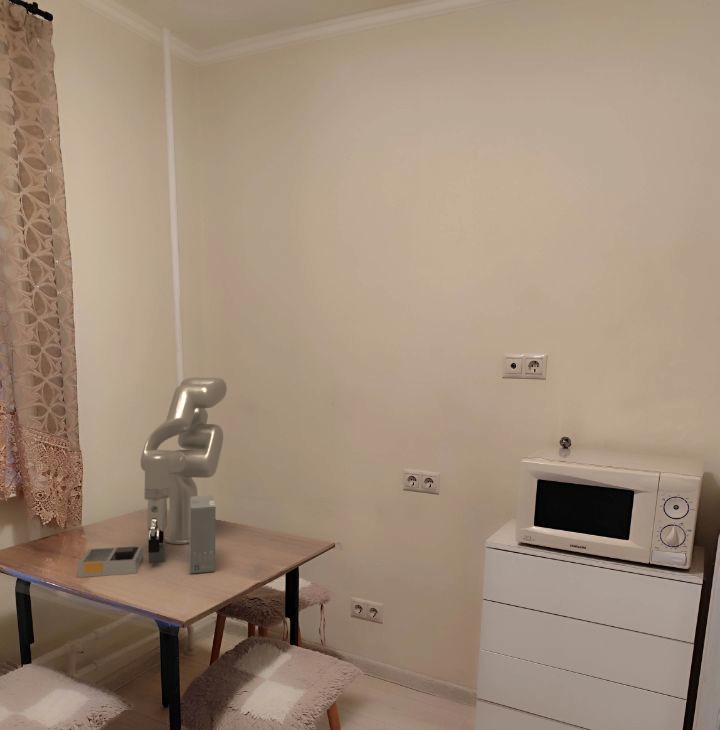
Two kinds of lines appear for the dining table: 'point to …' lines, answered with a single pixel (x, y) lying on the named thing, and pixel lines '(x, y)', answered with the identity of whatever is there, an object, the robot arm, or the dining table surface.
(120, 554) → the grey divided tray
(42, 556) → the dining table surface
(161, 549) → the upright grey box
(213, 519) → the hard drive box
